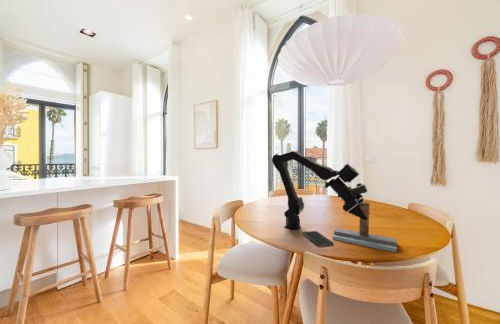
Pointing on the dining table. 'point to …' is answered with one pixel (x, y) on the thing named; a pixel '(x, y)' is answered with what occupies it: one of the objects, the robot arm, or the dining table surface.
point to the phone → (317, 238)
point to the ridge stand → (366, 240)
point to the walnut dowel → (364, 223)
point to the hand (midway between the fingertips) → (367, 217)
